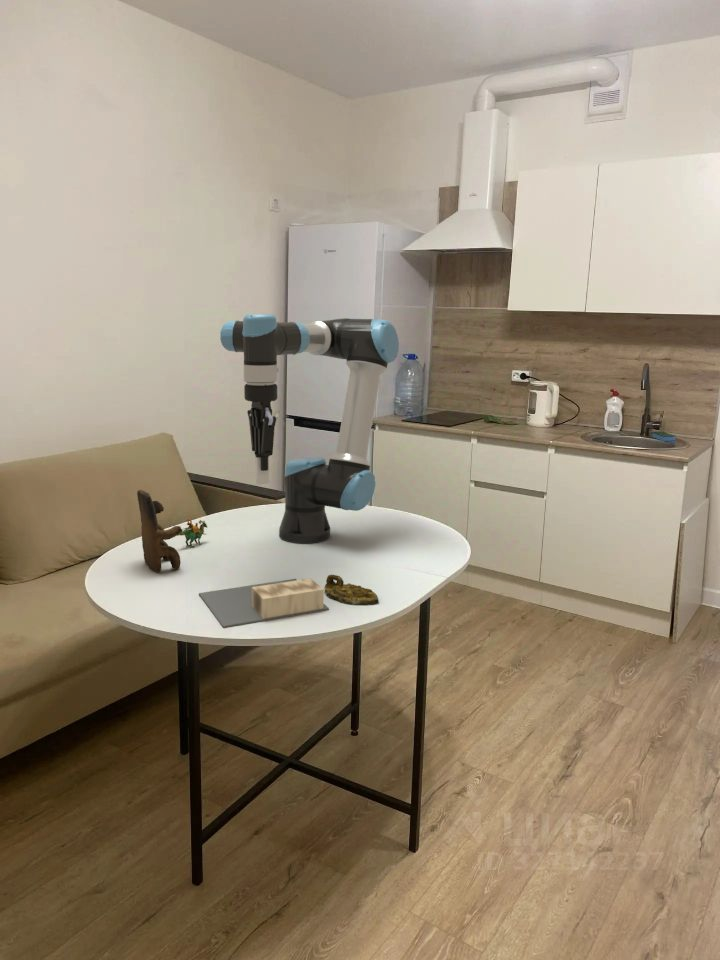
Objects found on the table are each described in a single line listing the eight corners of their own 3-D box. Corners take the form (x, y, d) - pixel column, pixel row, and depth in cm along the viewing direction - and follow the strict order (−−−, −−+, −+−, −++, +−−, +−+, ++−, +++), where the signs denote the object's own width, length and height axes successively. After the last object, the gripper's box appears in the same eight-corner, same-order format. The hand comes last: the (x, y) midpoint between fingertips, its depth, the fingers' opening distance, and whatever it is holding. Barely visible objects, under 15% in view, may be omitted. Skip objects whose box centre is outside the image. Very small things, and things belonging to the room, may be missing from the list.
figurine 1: (188, 569, 184) (179, 492, 179) (159, 577, 180) (150, 498, 175) (167, 556, 194) (158, 482, 189) (139, 563, 190) (130, 488, 185)
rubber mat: (295, 580, 179) (295, 578, 179) (328, 609, 162) (328, 608, 161) (198, 594, 168) (198, 593, 168) (223, 628, 151) (223, 626, 151)
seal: (388, 602, 170) (334, 588, 178) (390, 582, 169) (336, 569, 177) (368, 611, 162) (312, 595, 170) (370, 590, 161) (314, 576, 169)
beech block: (251, 587, 160) (310, 578, 167) (251, 606, 161) (310, 596, 168) (262, 599, 154) (323, 589, 160) (263, 618, 155) (323, 608, 161)
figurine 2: (211, 542, 207) (210, 514, 205) (177, 552, 197) (176, 523, 195) (203, 540, 208) (203, 513, 207) (170, 550, 199) (169, 521, 197)
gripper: (286, 385, 163) (287, 487, 168) (266, 379, 174) (268, 475, 179) (254, 386, 159) (256, 491, 165) (236, 380, 170) (238, 478, 176)
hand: (262, 483), depth 172 cm, fingers closed
